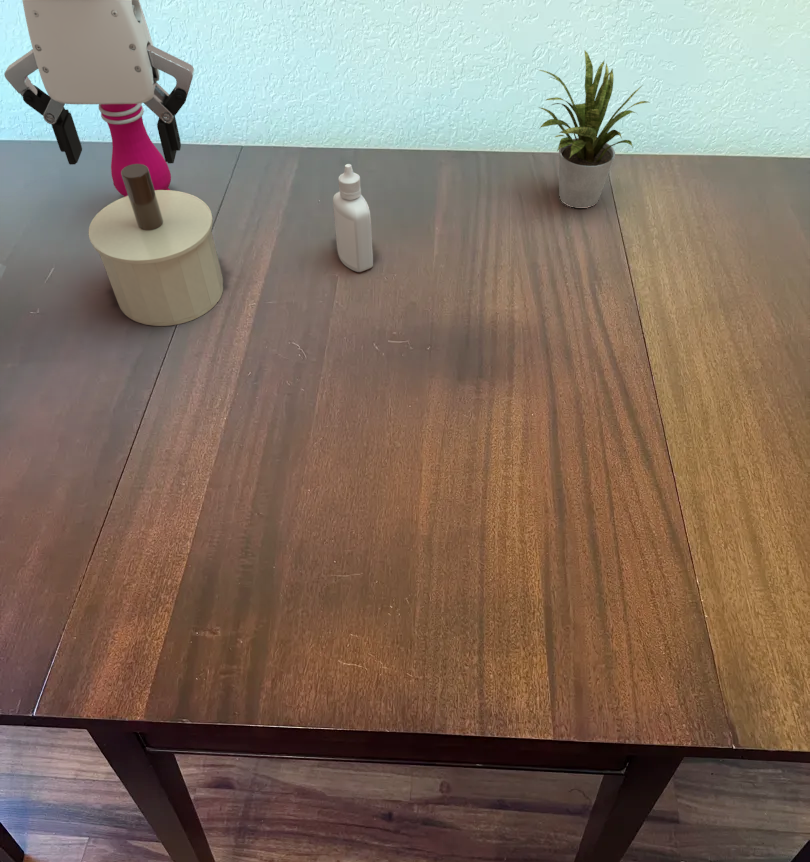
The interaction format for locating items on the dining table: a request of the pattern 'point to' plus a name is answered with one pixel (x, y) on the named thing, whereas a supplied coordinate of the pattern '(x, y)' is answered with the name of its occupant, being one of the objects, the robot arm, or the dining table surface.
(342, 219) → the eye dropper bottle
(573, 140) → the house plant
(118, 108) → the pepper mill
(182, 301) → the pot
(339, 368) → the dining table surface
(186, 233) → the lid
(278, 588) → the dining table surface
